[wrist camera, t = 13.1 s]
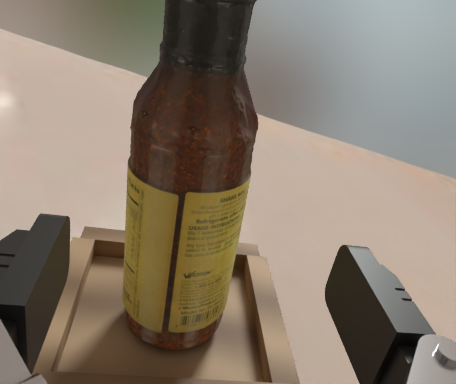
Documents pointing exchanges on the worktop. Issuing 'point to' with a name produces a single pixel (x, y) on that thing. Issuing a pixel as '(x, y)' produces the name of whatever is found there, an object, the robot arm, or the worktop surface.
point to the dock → (149, 354)
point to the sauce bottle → (188, 174)
